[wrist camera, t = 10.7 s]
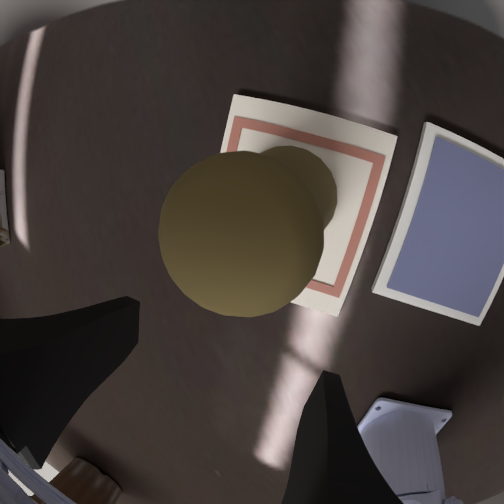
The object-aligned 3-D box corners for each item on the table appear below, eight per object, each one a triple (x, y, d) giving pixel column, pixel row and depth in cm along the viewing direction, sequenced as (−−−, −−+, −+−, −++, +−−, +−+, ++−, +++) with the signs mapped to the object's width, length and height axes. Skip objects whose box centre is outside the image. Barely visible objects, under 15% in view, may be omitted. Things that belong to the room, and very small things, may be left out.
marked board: (337, 313, 20) (337, 317, 20) (200, 268, 22) (197, 271, 21) (395, 136, 16) (397, 136, 15) (236, 95, 17) (233, 93, 17)
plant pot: (145, 505, 44) (111, 557, 29) (96, 486, 49) (64, 528, 35) (101, 461, 40) (56, 518, 26) (56, 442, 46) (16, 486, 31)
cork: (228, 158, 18) (106, 170, 8) (325, 136, 16) (310, 106, 6) (250, 251, 20) (163, 349, 10) (345, 236, 18) (351, 340, 8)
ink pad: (476, 321, 17) (480, 328, 16) (371, 287, 19) (372, 294, 18) (530, 177, 13) (538, 179, 13) (423, 122, 15) (428, 121, 14)
